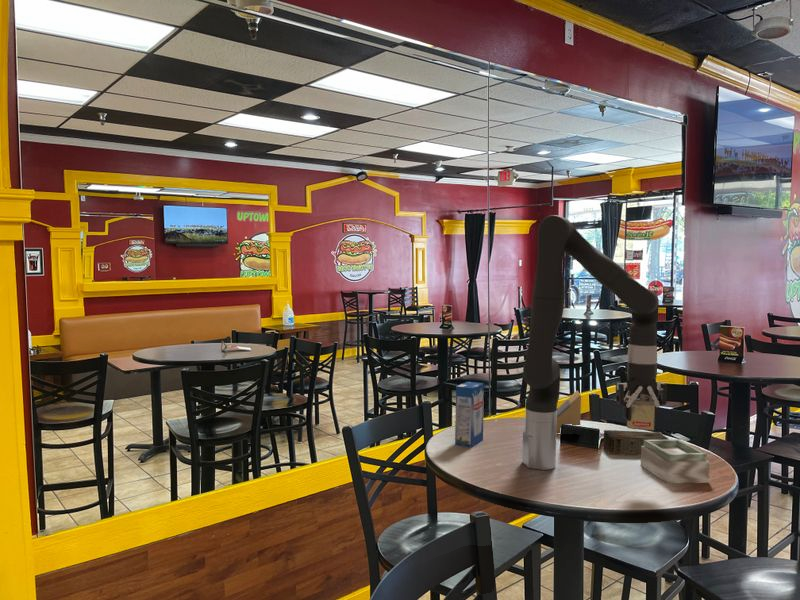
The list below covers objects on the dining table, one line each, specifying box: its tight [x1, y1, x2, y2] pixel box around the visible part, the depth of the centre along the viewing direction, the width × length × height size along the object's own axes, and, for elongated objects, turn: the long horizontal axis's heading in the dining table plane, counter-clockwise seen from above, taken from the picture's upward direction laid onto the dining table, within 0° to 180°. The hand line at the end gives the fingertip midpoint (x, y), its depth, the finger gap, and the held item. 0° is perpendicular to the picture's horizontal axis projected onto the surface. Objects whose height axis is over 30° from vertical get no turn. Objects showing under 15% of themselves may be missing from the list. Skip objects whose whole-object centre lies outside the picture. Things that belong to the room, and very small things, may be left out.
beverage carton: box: [602, 429, 670, 456], centre depth 184 cm, size 8×19×7 cm, turn 86°
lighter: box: [626, 394, 655, 431], centre depth 156 cm, size 7×4×10 cm, turn 78°
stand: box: [640, 438, 710, 484], centre depth 164 cm, size 12×15×8 cm
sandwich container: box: [556, 390, 582, 433], centre depth 208 cm, size 9×15×15 cm, turn 81°
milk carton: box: [454, 381, 485, 448], centre depth 193 cm, size 10×6×20 cm, turn 150°
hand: (640, 419), depth 156 cm, fingers closed on lighter, 7 cm apart
